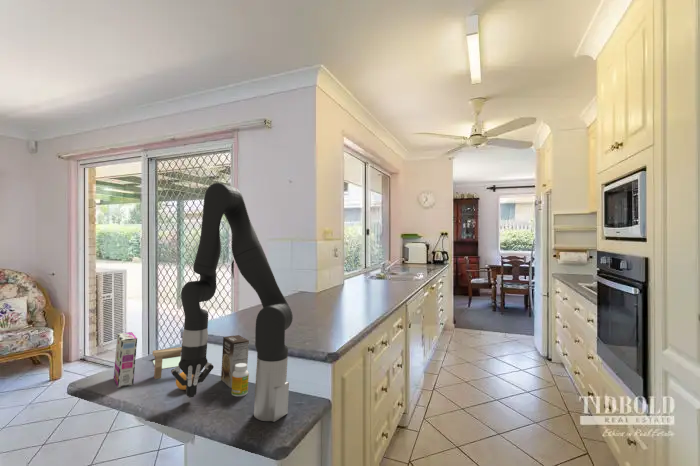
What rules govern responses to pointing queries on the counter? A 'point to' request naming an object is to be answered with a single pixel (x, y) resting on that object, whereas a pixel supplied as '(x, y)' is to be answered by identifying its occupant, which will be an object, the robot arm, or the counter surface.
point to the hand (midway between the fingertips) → (190, 396)
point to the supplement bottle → (240, 380)
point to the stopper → (171, 355)
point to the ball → (180, 383)
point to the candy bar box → (125, 359)
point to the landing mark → (170, 362)
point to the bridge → (158, 359)
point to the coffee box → (233, 356)
